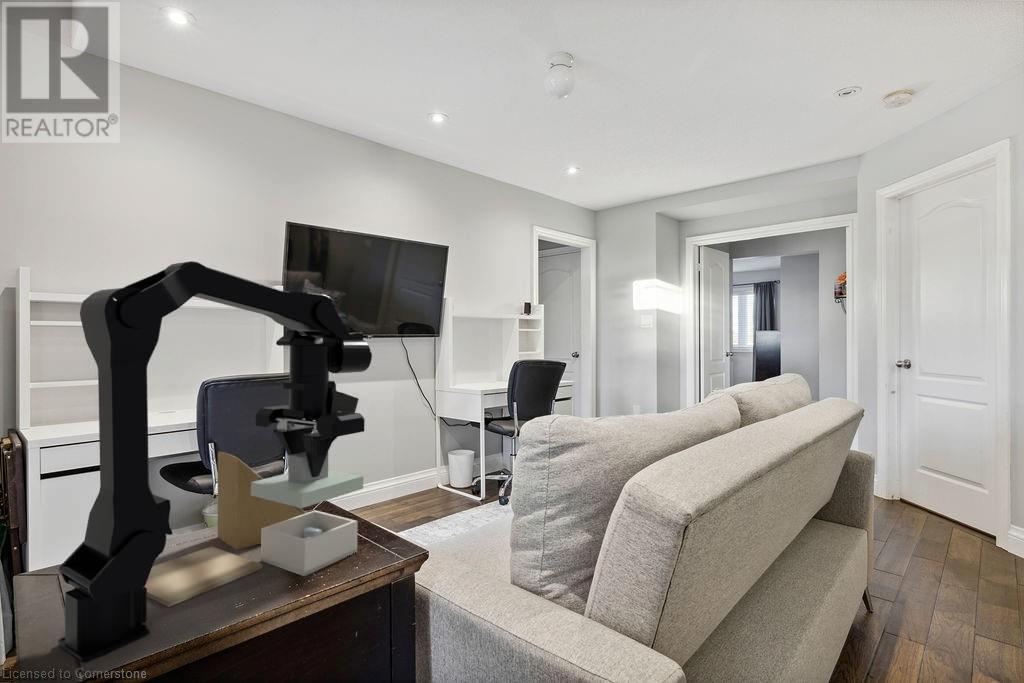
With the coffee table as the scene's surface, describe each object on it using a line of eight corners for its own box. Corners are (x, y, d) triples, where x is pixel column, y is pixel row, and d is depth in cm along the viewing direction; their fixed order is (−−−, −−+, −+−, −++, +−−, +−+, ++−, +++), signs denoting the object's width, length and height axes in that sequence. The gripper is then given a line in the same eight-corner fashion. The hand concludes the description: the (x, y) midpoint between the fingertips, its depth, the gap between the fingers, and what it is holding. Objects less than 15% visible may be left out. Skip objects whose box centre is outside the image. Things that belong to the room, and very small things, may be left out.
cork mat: (168, 606, 66) (168, 602, 66) (118, 582, 73) (118, 578, 73) (262, 568, 77) (262, 564, 77) (211, 550, 84) (211, 546, 84)
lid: (301, 508, 74) (302, 465, 74) (250, 495, 79) (251, 455, 79) (363, 488, 84) (363, 451, 84) (314, 478, 89) (314, 443, 89)
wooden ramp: (325, 526, 96) (326, 444, 95) (236, 551, 84) (237, 458, 84) (302, 515, 101) (303, 438, 101) (216, 537, 90) (217, 450, 90)
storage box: (304, 576, 75) (304, 541, 75) (261, 561, 80) (261, 528, 80) (357, 552, 84) (357, 520, 84) (314, 539, 89) (315, 510, 89)
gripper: (390, 374, 84) (389, 472, 84) (312, 370, 93) (311, 458, 93) (335, 378, 74) (334, 489, 74) (254, 373, 83) (253, 471, 83)
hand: (308, 475), depth 81 cm, fingers closed on lid, 3 cm apart
